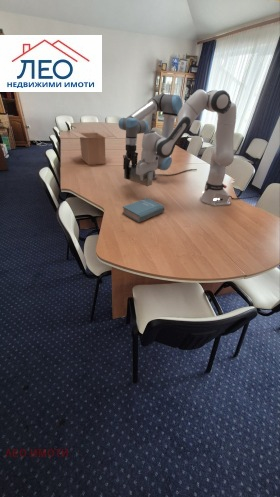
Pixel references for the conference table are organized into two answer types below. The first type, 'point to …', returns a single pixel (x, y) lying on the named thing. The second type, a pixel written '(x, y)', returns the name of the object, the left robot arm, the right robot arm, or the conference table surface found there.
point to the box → (92, 146)
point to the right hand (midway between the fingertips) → (146, 178)
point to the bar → (137, 178)
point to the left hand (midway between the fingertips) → (130, 177)
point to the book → (142, 209)
